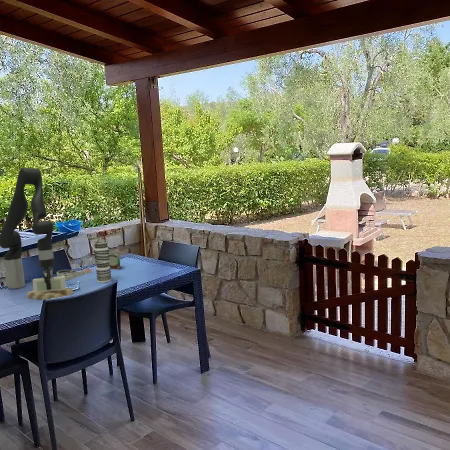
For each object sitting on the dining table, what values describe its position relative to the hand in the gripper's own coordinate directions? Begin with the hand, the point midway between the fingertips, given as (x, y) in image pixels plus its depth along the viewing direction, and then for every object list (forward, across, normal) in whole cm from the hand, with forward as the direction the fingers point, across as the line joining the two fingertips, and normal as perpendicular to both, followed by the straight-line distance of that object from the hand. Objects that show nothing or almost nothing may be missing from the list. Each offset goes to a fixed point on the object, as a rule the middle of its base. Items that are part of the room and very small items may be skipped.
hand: (49, 288), depth 247 cm
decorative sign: (+5, +43, -5) cm, 44 cm away
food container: (+5, +50, -33) cm, 60 cm away
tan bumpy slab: (+4, 0, 0) cm, 4 cm away
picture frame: (+1, 0, 0) cm, 1 cm away
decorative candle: (+5, +21, -27) cm, 35 cm away
